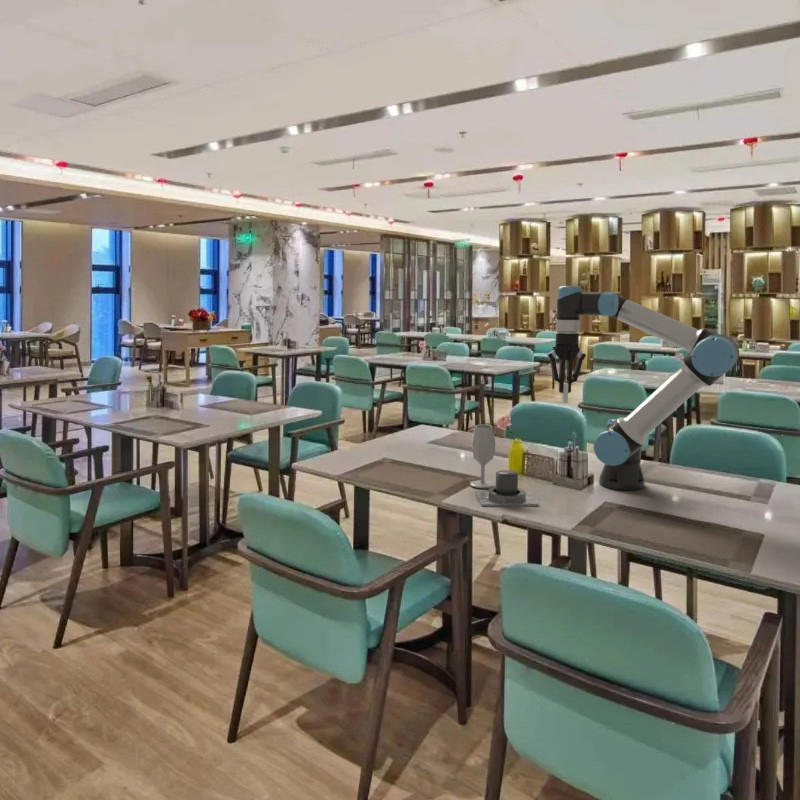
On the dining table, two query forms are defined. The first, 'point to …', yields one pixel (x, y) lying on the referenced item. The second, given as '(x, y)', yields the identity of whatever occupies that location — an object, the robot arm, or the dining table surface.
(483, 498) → the gray tray with ring
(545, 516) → the dining table surface
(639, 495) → the dining table surface
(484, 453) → the wineglass
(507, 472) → the dark grey cylinder
